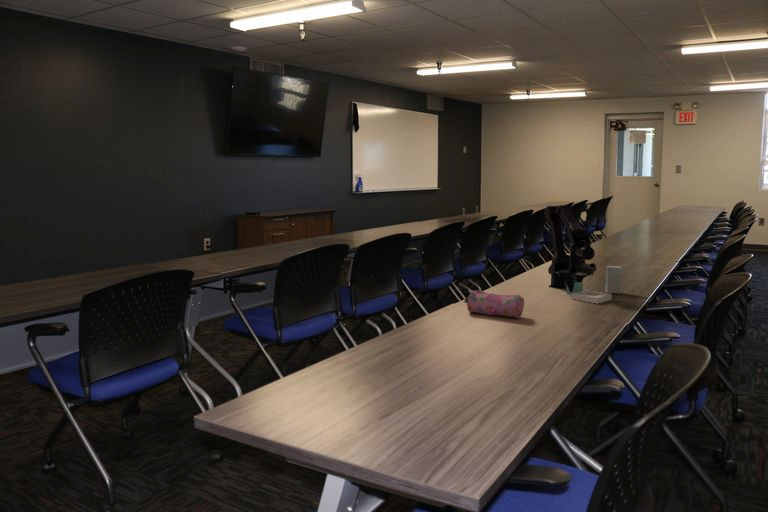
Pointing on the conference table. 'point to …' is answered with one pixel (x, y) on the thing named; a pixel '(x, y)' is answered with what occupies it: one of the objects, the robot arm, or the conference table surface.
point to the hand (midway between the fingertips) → (574, 291)
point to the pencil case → (495, 304)
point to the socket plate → (591, 296)
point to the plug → (575, 287)
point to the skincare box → (613, 279)
